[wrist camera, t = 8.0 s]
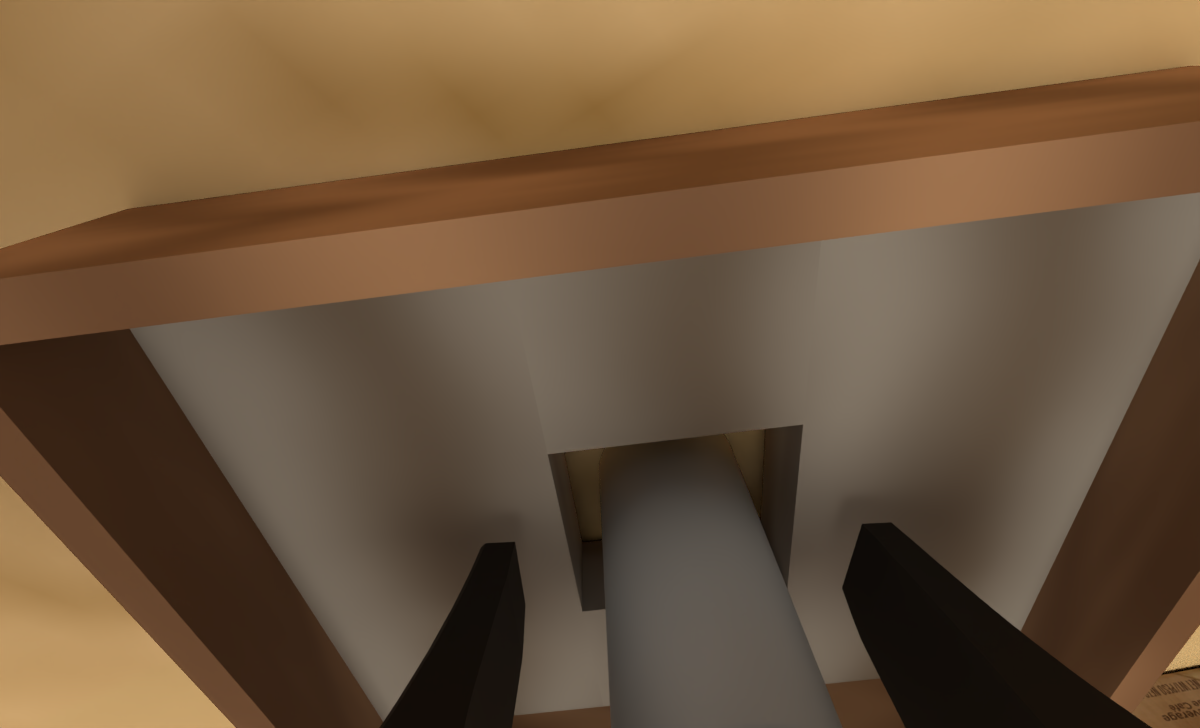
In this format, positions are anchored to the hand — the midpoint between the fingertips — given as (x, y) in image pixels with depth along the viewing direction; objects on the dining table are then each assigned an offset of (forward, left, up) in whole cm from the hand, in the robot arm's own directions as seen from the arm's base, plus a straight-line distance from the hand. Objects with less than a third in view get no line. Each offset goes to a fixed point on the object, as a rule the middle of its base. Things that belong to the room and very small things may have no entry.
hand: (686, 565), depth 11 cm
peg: (0, 0, -3) cm, 3 cm away
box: (0, 0, -3) cm, 3 cm away
